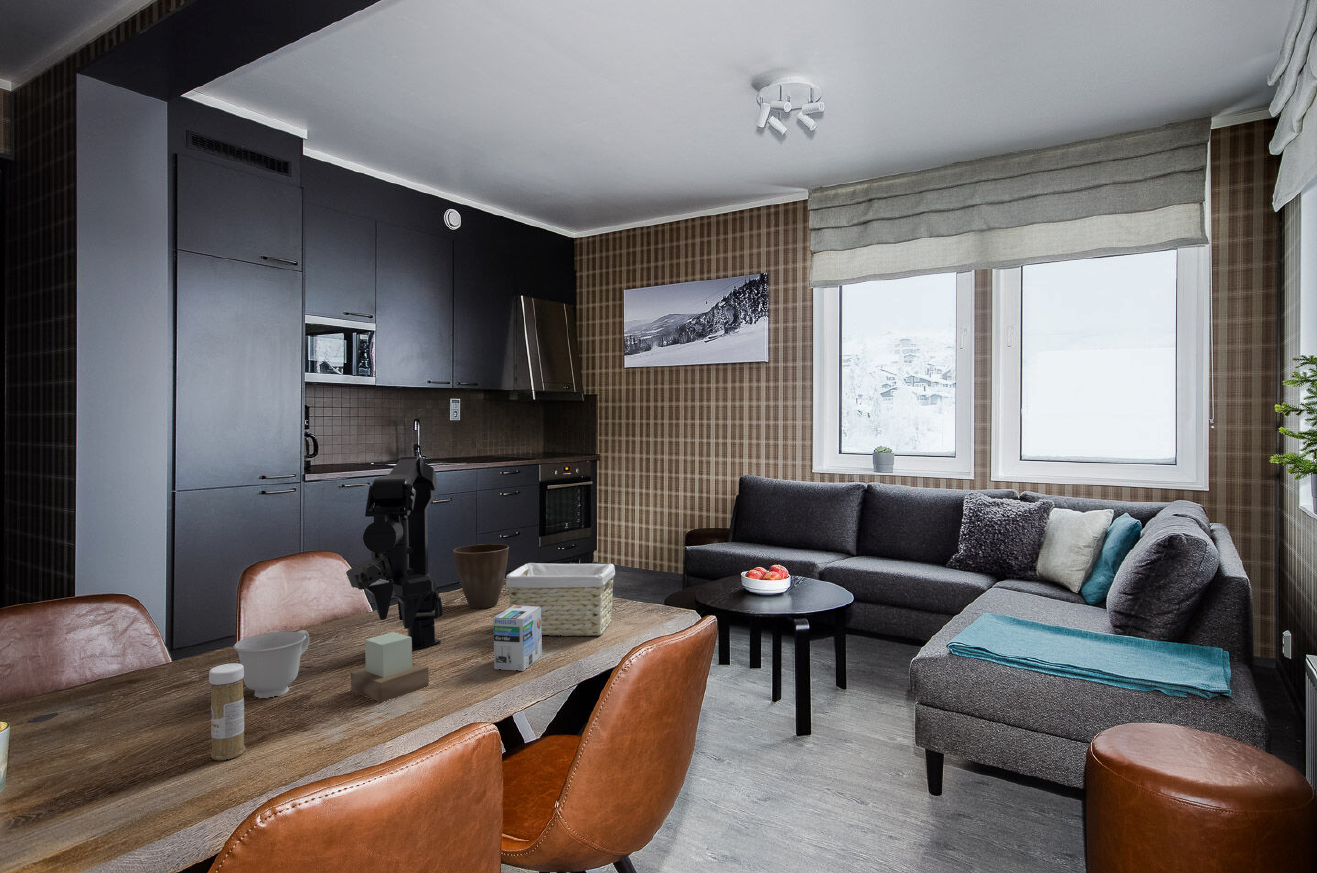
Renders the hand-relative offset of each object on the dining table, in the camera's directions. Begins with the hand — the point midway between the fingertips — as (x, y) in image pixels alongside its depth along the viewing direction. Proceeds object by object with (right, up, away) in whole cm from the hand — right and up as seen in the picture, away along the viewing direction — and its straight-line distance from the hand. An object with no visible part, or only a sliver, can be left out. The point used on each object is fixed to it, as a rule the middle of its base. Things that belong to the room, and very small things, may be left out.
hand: (394, 624), depth 140 cm
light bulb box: (+22, -11, +12) cm, 27 cm away
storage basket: (+28, -11, +37) cm, 48 cm away
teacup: (-21, -12, -2) cm, 25 cm away
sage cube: (0, -8, -2) cm, 8 cm away
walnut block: (0, -12, -2) cm, 12 cm away
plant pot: (+2, -11, +61) cm, 62 cm away
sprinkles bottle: (-15, -13, -29) cm, 35 cm away
